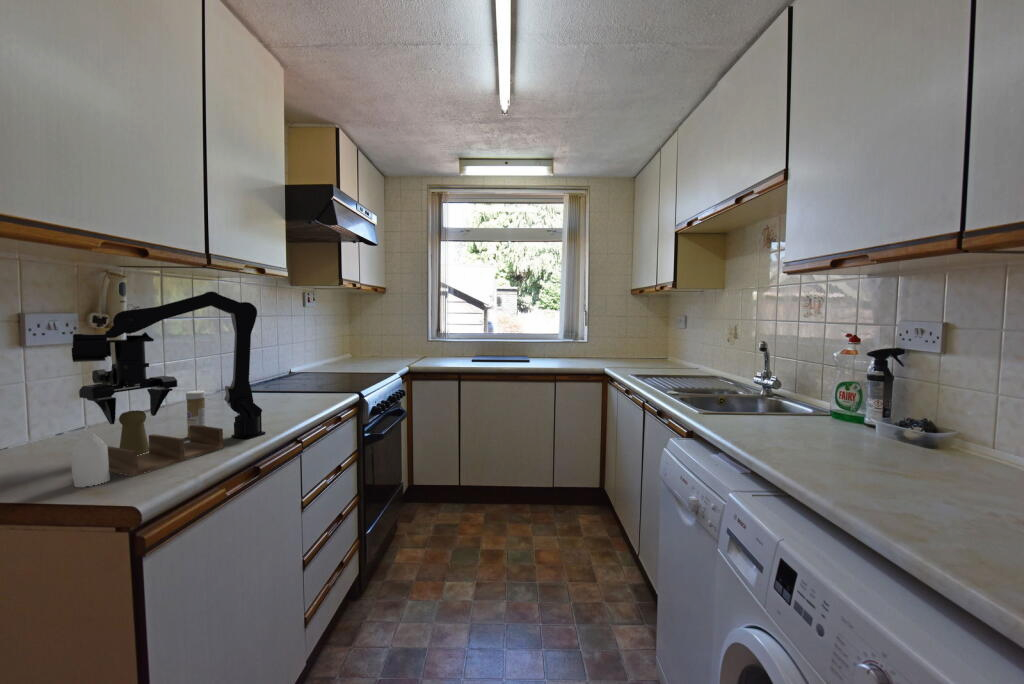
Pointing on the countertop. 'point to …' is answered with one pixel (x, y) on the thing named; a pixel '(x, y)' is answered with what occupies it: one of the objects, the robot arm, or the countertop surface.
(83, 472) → the grey pointed block
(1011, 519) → the countertop surface
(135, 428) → the olive bottle gourd
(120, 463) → the rack
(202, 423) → the sprinkles bottle
